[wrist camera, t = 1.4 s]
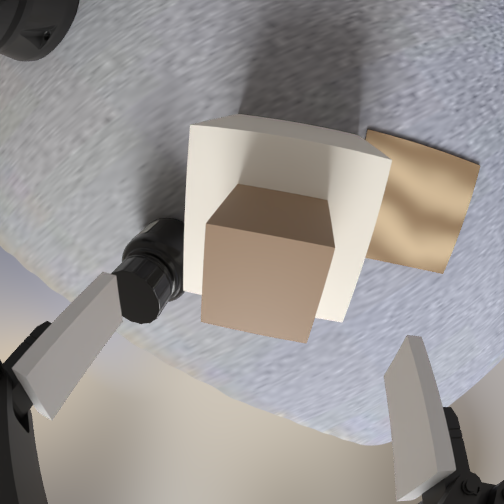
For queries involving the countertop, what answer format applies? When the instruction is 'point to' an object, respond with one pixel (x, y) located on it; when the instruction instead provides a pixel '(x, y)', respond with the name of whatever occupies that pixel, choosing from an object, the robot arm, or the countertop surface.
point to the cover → (277, 222)
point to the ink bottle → (151, 270)
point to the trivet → (420, 204)
